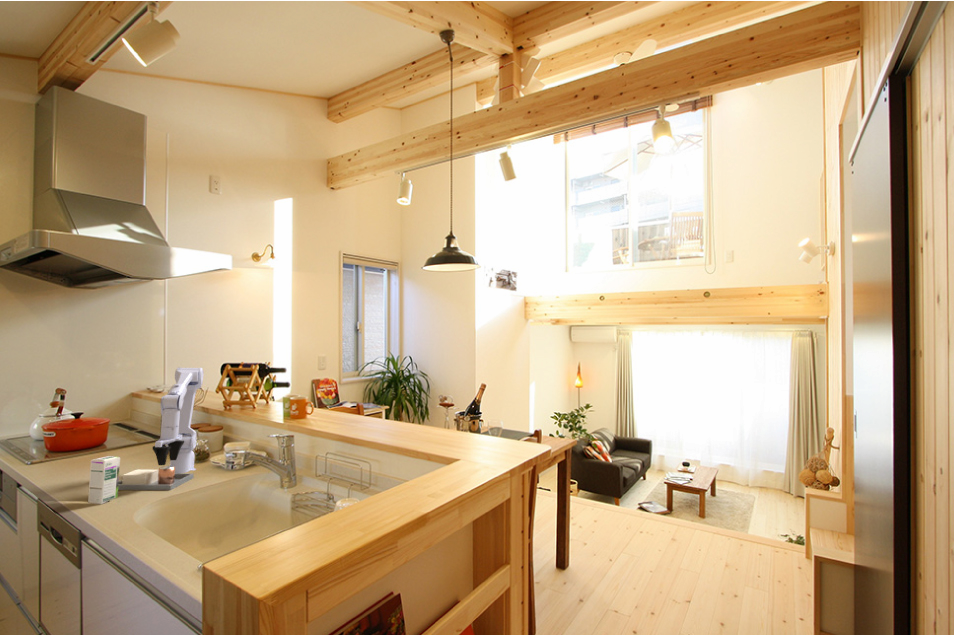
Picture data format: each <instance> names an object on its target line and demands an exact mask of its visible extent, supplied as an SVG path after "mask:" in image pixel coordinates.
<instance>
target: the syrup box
mask: <svg viewBox="0 0 954 635" xmlns="http://www.w3.org/2000/svg"><path fill="white" fill-rule="evenodd" d="M120 464H121V457H120V456H117V455H107V456H103V457H99V458H94V459H91V460H90V469H89V470H90V471H89V484H88V485H89V486H88V488H89V489H88V497H87V498H88V499H87V500H88V501H87V502H88V503H89V504H93V505H103V504H106V503H109V502H110V501H111V500H113V499H116V498H118V497H119V496H118V495H119V490H118V483H119V481H120Z"/></svg>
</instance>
